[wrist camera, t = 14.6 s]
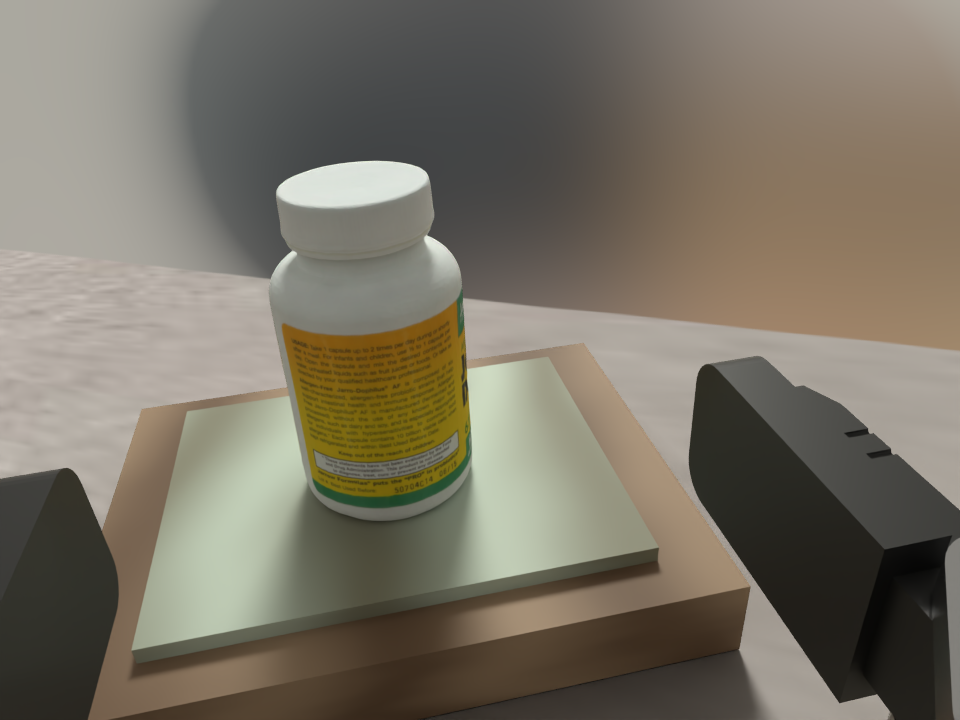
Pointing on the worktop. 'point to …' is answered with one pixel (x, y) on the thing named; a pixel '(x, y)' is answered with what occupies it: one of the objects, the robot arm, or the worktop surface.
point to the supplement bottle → (372, 340)
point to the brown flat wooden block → (406, 562)
